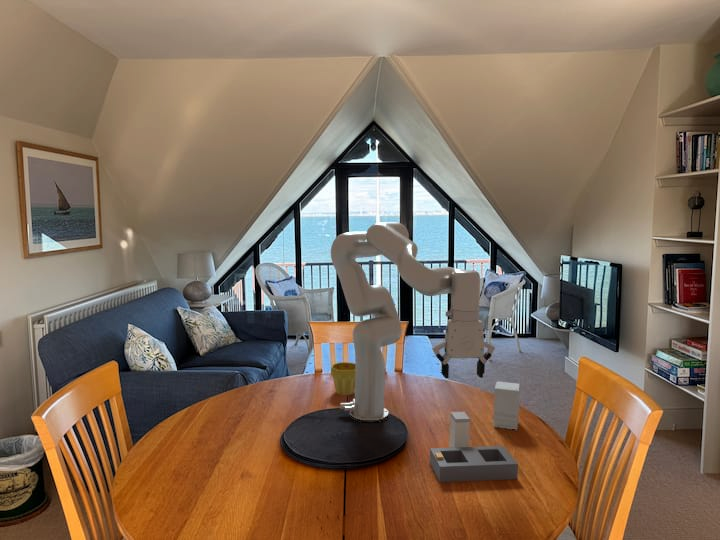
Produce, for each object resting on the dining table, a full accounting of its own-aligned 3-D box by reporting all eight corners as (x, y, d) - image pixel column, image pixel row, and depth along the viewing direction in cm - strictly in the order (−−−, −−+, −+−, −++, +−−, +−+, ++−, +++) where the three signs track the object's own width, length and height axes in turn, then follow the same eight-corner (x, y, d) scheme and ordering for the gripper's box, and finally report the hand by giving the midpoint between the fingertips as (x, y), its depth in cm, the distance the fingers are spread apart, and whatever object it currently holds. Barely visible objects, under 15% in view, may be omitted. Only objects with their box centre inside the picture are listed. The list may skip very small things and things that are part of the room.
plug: (454, 454, 146) (455, 419, 145) (449, 445, 151) (450, 412, 150) (468, 453, 146) (469, 418, 145) (462, 445, 151) (464, 411, 150)
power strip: (439, 482, 131) (440, 464, 130) (429, 462, 141) (430, 446, 140) (517, 479, 133) (518, 461, 132) (502, 460, 143) (503, 443, 142)
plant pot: (359, 397, 188) (359, 370, 186) (329, 396, 188) (330, 370, 187) (359, 387, 198) (360, 362, 197) (331, 387, 198) (332, 361, 197)
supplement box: (518, 421, 169) (520, 383, 167) (517, 430, 162) (519, 390, 160) (494, 418, 171) (496, 380, 170) (492, 427, 164) (494, 387, 163)
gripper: (437, 318, 139) (435, 382, 141) (500, 317, 141) (498, 380, 143) (430, 313, 147) (428, 373, 149) (490, 312, 149) (488, 372, 151)
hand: (462, 376), depth 146 cm, fingers open, 9 cm apart
